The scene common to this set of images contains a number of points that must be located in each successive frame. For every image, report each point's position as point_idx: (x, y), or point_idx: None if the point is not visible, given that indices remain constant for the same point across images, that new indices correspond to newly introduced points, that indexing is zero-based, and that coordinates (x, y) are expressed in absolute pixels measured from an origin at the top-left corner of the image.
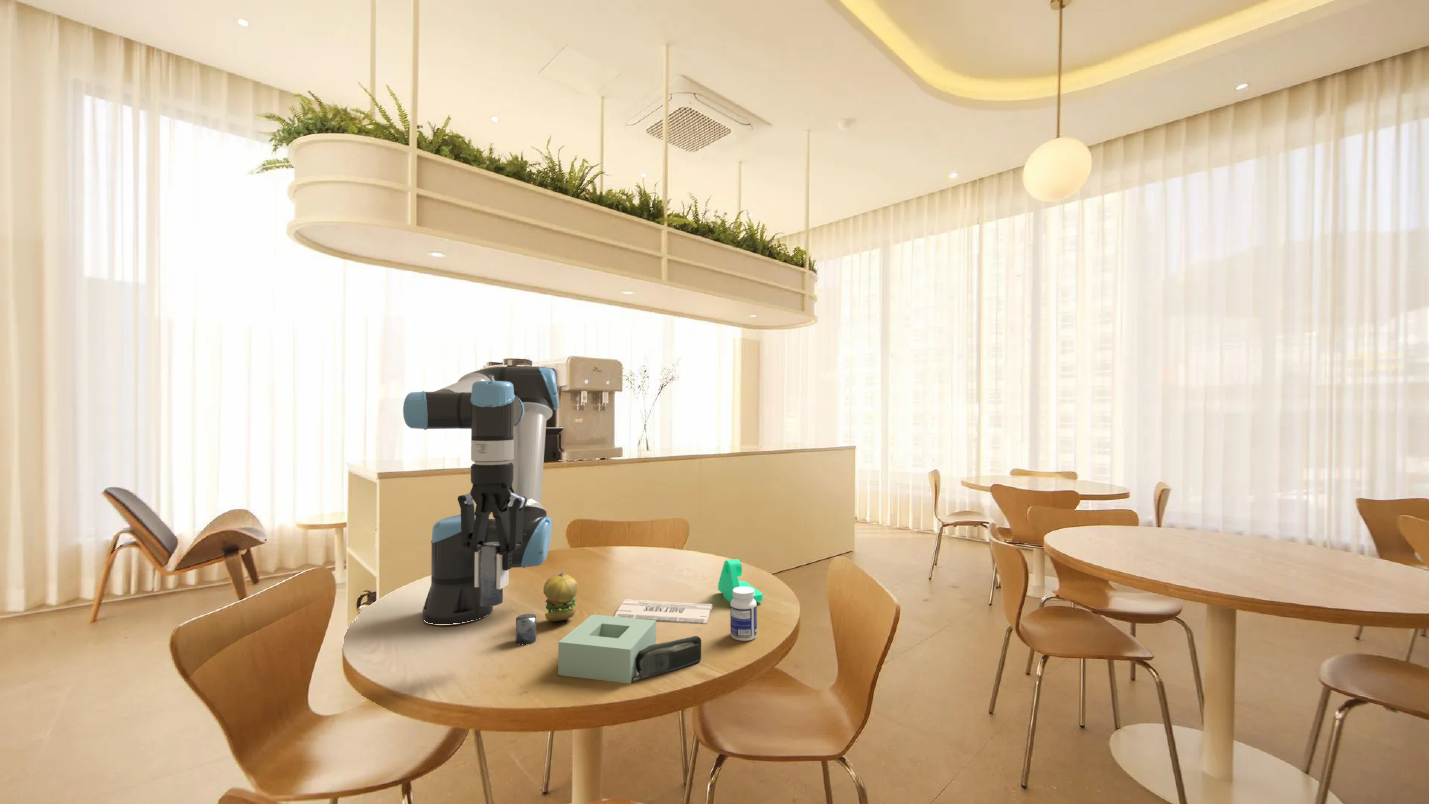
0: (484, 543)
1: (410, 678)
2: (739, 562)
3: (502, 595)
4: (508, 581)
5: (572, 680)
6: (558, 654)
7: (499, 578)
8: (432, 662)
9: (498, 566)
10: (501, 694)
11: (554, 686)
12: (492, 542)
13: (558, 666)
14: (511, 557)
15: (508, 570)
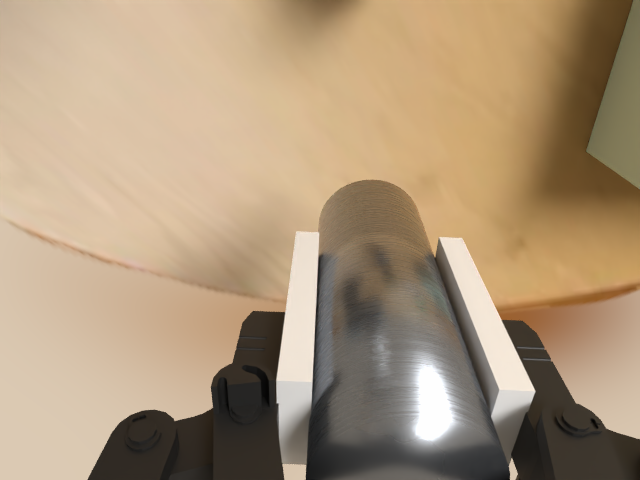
0: (314, 471)
1: (187, 236)
2: None
3: (423, 226)
4: (466, 249)
5: None
6: (617, 173)
7: None
8: (166, 146)
9: None
10: None
11: (589, 209)
12: (369, 437)
13: (598, 159)
14: (558, 385)
15: (485, 288)
